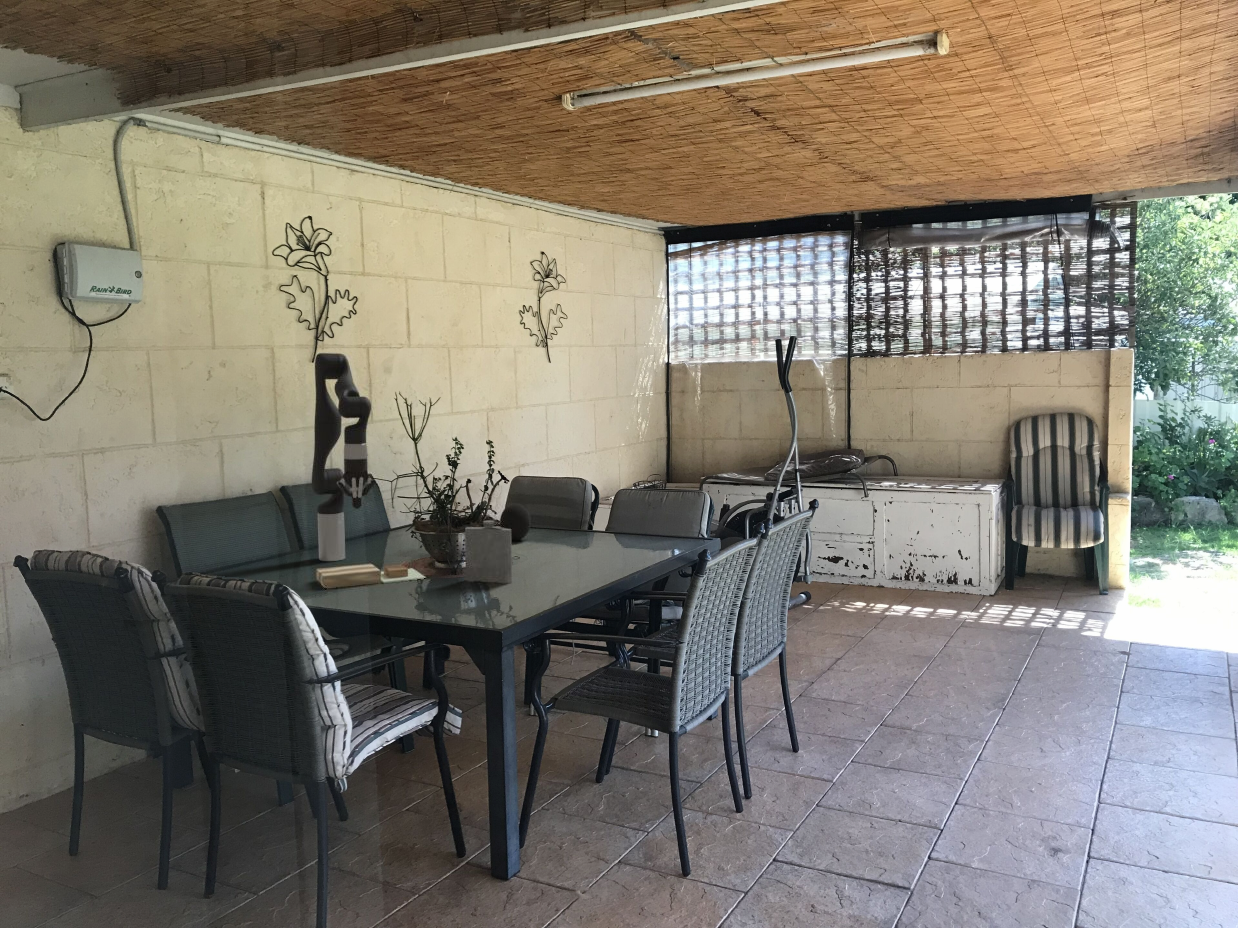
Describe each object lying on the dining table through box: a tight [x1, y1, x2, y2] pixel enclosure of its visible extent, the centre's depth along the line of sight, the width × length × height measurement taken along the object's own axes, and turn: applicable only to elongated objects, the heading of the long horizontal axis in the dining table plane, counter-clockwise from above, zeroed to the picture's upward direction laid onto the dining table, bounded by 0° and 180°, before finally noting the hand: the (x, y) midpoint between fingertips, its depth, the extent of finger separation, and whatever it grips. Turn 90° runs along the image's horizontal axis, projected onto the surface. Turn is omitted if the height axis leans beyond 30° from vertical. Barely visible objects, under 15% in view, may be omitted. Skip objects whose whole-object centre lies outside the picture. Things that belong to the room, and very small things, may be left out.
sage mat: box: [381, 567, 427, 584], centre depth 331 cm, size 16×14×1 cm
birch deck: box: [315, 563, 382, 589], centre depth 323 cm, size 13×18×4 cm
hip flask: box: [464, 520, 513, 584], centre depth 322 cm, size 16×4×20 cm, turn 75°
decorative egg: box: [499, 503, 532, 542], centre depth 396 cm, size 12×12×15 cm
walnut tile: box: [383, 564, 409, 578], centre depth 330 cm, size 8×6×2 cm
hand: (356, 508), depth 329 cm, fingers closed
